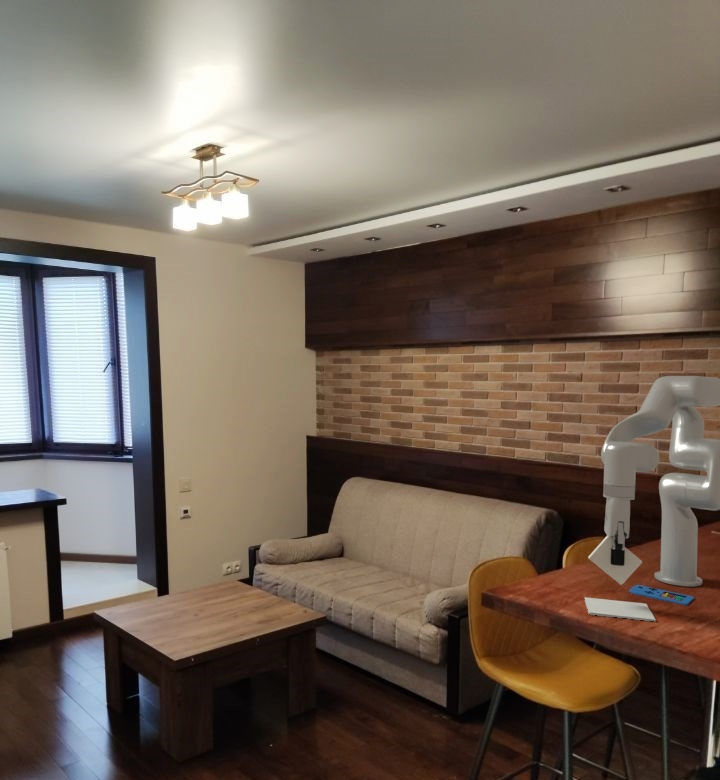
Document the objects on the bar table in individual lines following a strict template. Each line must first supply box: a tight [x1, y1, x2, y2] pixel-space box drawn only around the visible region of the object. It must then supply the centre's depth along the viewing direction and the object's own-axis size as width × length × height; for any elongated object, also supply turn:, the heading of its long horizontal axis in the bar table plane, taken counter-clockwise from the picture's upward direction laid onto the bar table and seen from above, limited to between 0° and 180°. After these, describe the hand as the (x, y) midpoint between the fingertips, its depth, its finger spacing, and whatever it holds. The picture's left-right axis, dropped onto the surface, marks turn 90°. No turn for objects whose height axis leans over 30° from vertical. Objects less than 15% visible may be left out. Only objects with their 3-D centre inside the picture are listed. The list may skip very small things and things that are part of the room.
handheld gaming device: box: [628, 584, 695, 606], centre depth 171 cm, size 8×1×15 cm
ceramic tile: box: [587, 535, 643, 586], centre depth 162 cm, size 2×10×8 cm
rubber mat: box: [584, 597, 657, 623], centre depth 158 cm, size 12×15×1 cm
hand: (616, 563), depth 161 cm, fingers closed on ceramic tile, 1 cm apart
